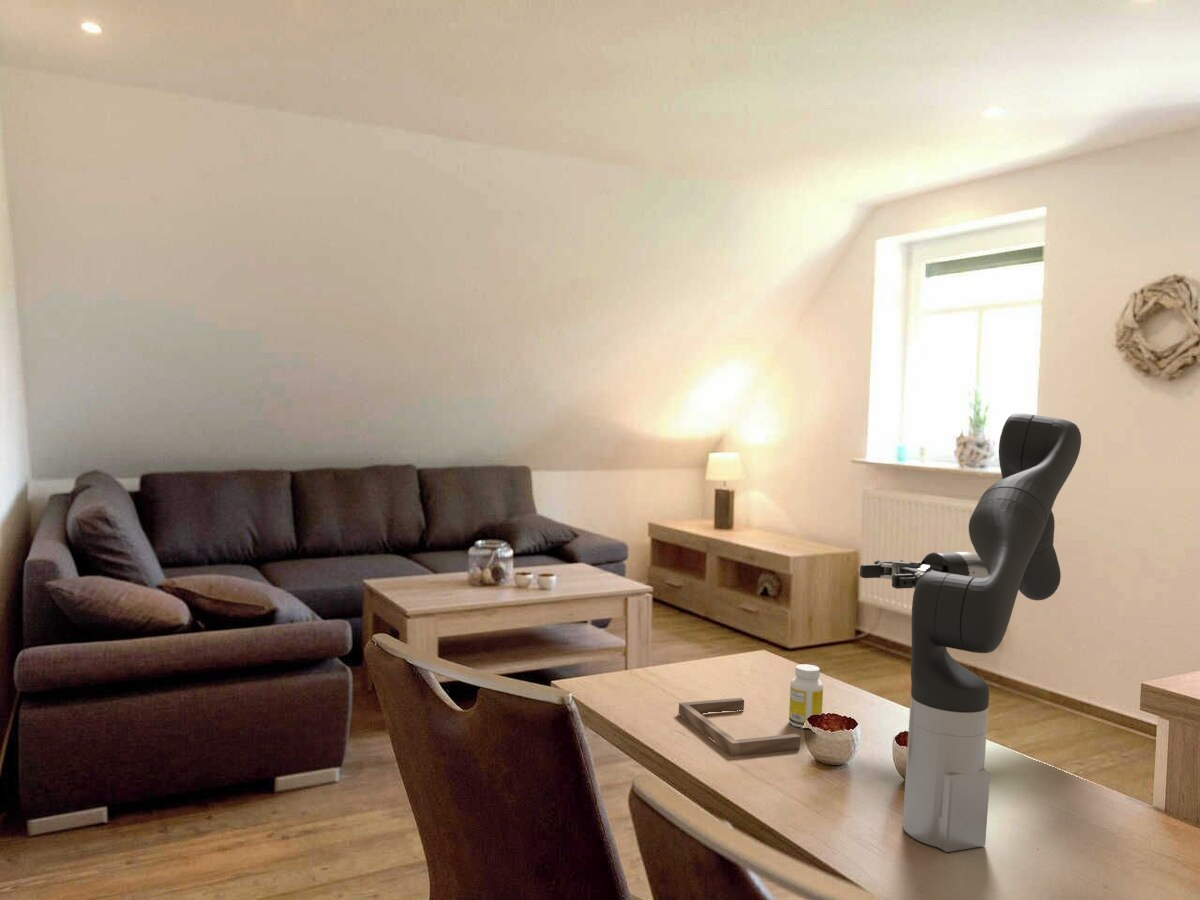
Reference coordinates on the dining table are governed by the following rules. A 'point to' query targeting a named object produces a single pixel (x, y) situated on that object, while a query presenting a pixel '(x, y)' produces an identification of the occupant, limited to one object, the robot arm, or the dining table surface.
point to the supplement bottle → (805, 694)
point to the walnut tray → (725, 741)
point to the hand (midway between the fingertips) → (876, 576)
